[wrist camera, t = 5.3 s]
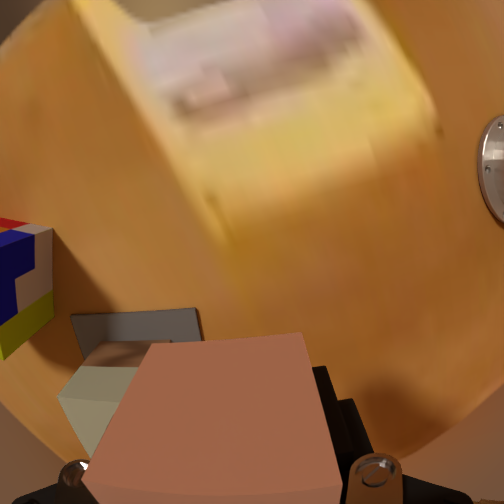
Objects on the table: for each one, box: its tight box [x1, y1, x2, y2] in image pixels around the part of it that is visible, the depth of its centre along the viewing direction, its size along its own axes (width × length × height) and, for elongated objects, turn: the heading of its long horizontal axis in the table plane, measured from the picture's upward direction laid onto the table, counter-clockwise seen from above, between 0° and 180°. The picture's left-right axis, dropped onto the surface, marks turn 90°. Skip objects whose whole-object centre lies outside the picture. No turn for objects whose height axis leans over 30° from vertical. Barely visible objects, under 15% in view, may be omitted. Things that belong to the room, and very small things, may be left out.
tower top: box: [57, 366, 139, 458], centre depth 24 cm, size 8×8×5 cm
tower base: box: [81, 339, 171, 367], centre depth 29 cm, size 8×8×5 cm
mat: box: [70, 308, 202, 360], centre depth 31 cm, size 14×14×1 cm
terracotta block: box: [81, 332, 343, 504], centre depth 8 cm, size 5×5×6 cm
